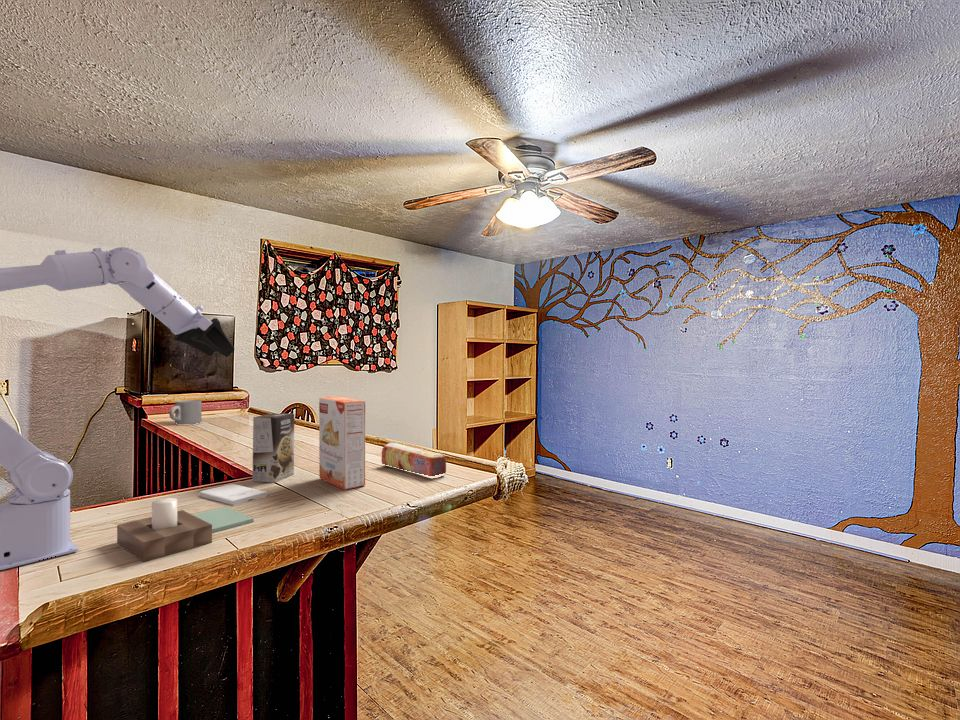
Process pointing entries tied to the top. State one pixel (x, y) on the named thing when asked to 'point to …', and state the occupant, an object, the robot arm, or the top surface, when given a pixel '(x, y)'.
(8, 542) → the robot arm
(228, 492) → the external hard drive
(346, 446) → the cracker box
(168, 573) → the top surface
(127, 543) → the brown socket block
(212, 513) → the mat
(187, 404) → the coffee mug
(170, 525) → the plug
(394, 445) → the snack package
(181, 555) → the top surface
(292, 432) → the coffee box
